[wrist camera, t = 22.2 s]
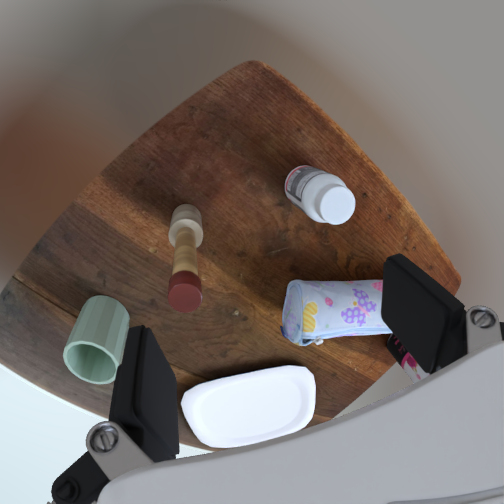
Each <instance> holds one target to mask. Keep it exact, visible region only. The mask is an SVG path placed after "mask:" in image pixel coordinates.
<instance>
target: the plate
mask: <svg viewBox="0 0 504 504" xmlns="http://www.w3.org/2000/svg"><path fill="white" fill-rule="evenodd" d="M315 389H316V386H315V381H314V375H313V374H312V373H311V372H310V371H309V370H308V369H307V368H306V367H305V366H296V365H284V366H278V367H271V368H265V369H261V370H256V371H251V372H246V373H241V374H237V375H232V376H227V377H222V378H218V379H214V380H211V381H207V382H203V383H199V384H197V385H195V386H194V387H192V388H190V389H189V390H187V391H185V392H184V395H183V398H182V401H181V406H182V409H183V413H184V416H185V418H186V420H187V422H188V424H189V425H190V427H191V429H192V431H193V432H194V434H195V435H196V436H197V438H198V439H199V440H200V441H201V442H202V443H204V444H206V445H209V446H211V447H220V448H230V447H238V446H245V445H250V444H254V443H258V442H262V441H265V440H269V439H273V438H277V437H280V436H284V435H287V434H290V433H294V432H296V431H298V430H300V429H302V428H303V427H305V426H306V425H307V424H308V422H309V421H310V420H311V419H312V416H313V412H314V409H315Z"/></svg>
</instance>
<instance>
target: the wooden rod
mask: <svg viewBox="0 0 504 504" xmlns="http://www.w3.org/2000/svg"><path fill="white" fill-rule="evenodd" d="M202 239H203V229H202V221H201V214H200V212H199V210H198V209H197V208H196V207H195V206H193V205H190V204H183V205H180V206H178V207H177V208H176V209H175V210H174V212H173V214H172V219H171V224H170V229H169V240H170V242H171V244H172V245H173V247H175V252H174V262H173V273H172V277H171V278H170V280H169V287H168V302H169V304H170V306H171V307H172V308H173V309H175V310H176V311H179V312H183V313H188V312H192V311H194V310H196V309H197V308H198V307H199V306H200V305H201V303H202V288H201V281H200V278H199V277H198V270H197V255H196V248H197V247H198V246H199V245H200V244H201V242H202Z"/></svg>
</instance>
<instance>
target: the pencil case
mask: <svg viewBox="0 0 504 504" xmlns="http://www.w3.org/2000/svg"><path fill="white" fill-rule="evenodd" d="M382 288H383V280H360V281H303V280H293V281H291V282H290V283H289V284H288V287H287V292H286V297H285V302H284V308H283V315H282V322H283V327H282V326H280V328H281V332H282V335H283V336H284V337H285V338H288V339H289V340H290V341H291V342H293V343H294V344H297V345H300V346H306V345H308V344H310V343H312V342H314V343H316V345H319V344H321V343H323V340H322V339H326V338H333V337H340V336H356V335H376V334H389V333H393V332H392V331H391V330H390V329H389V328H388V326H387V325H386V324H385V323H384V322H383V320H382V318H381V303H382Z"/></svg>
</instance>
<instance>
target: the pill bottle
mask: <svg viewBox="0 0 504 504" xmlns="http://www.w3.org/2000/svg"><path fill="white" fill-rule="evenodd" d="M285 193H286V195H287V197H288V199H289V200H290V201H291V202H292V203H293V204H294V205H296V206H297V207H298V208H299V209H301V210H302V211H303V212H304V213H305V214H307V215H308V216H309V217H310V218H311V219H313V220H315V221H318V222H323V223H326V222H328V223H330V224H334V225H337V224H341V223H344V222H345V221H347V220H348V219H349V218H350V217H351V215H352V214H353V212H354V209H355V198H354V195H353V194H352V192H351V191H350V190H349V189H348V188H347V187H346V185H345V184H344V182H343V181H342V180H341V179H340V178H338V177H337V176H335V175H333V174H330V173H328V172H325V171H323V170H320V169H318V168H315V167H312V166H307V165H304V166H299V167H297V168H295V169H293V170H292V171H291V172H290V173H289V175H288V176H287V178H286V181H285Z"/></svg>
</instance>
